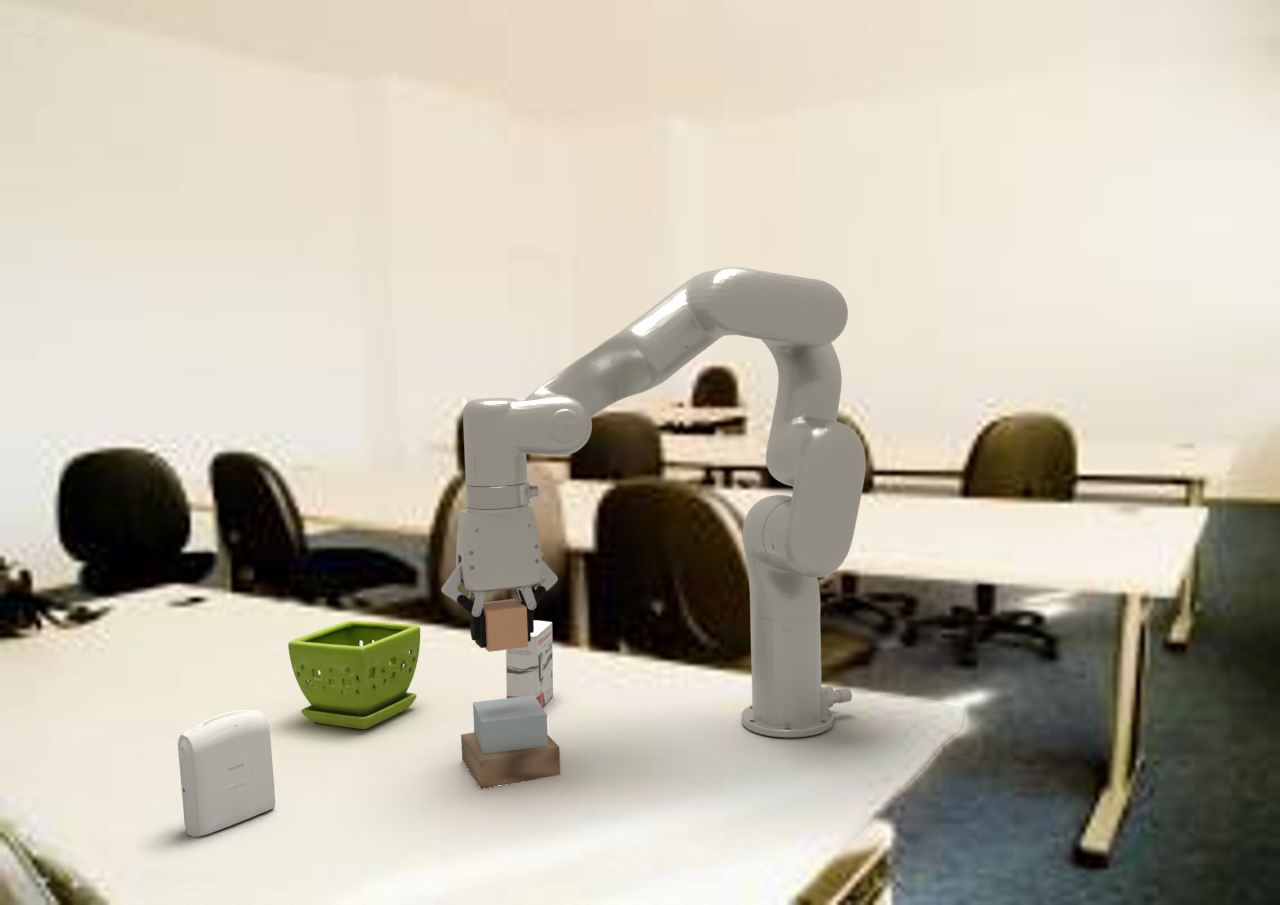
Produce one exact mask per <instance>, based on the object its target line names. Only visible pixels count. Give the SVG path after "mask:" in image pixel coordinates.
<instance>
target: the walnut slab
mask: <svg viewBox="0 0 1280 905" xmlns="http://www.w3.org/2000/svg"><path fill="white" fill-rule="evenodd" d="M547 736H548V746H542V747H535V748H527V749H519V750H512V751H504V752H496V753H489V754H483V752H482V750H481V747H480V745H479V743H478V740H477V738H476V735H475V733H474V731H473V732H468V733H463V734H462V733H461V734H460V741H461V760H463V761H464V763H465V764H466V766H467V767H466V766H465V767H466V769H467V768H468V769H469V770H468V769H467V770H468V772H469V771H470V772H471V773H470V772H469V773H470V775H471V774H472V775H473V776H472V775H471V776H472V778H473V777H474V778H475V779H474V778H473V779H474V781H475V780H476V781H477V782H476V781H475V782H476V784H477V783H478V784H477V785H478V786H480V787H479V788H480V790H484V789H483V788H486V789H490V788H489V787H492V788H495V787H494V786H497V787H499V786H498V785H502V786H506V785H505V784H508V785H513V784H517V783H518V784H519V783H523V782H522V781H524V782H528V780H529V781H533V780H539V779H545V778H550V777H555V776H561V755H560V746H559V745H558V744H557V743H556V742H555V740H553V739H552V737H551V736H550V735H549V734H548V733H547ZM464 763H463V764H464ZM465 764H464V765H465ZM512 783H513V784H512Z"/></svg>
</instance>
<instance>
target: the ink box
mask: <svg viewBox="0 0 1280 905" xmlns="http://www.w3.org/2000/svg"><path fill="white" fill-rule="evenodd" d="M533 620H534V632H533V633H531V641H530V642H528V647H521V648H514V649H506V650H505V657H506V658H505V661H506V662H505V663H506V664H505V666H506V669H505V670H506V673H505V674H506V675H505V676H506V698H514V697H523V696H532V695H534V696H535V697H536V699H537V700H538V702H539V703H540V705H541V706H542V707H543V706H544V707H545V706H546V704H547V703H548V702H549V701H550V700H551V699H552V698H553V697H552V696H554V668H553V667H554V664H553V662H554V660H553V658H554V657H553V622H552V621H546V620H538V619H537V620H535V619H533ZM551 697H552V698H551ZM550 698H551V699H550ZM544 707H543V708H544Z"/></svg>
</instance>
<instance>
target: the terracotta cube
mask: <svg viewBox="0 0 1280 905" xmlns="http://www.w3.org/2000/svg"><path fill="white" fill-rule="evenodd" d="M520 602H521V601H520V600H518V599H516V598H511V599H503V600H495V601H487V602H485V601H484V604H483V608H482V610H483V615H484V616H485V619H486V644H487V646H486V647H485V648H484V649H485V650H486V651H488V653H490V652H498V651H504V650H505V651H506V649H514V648H521V647H528V631H527V607H526V606H525V605H523V604H522V603H520Z"/></svg>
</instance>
